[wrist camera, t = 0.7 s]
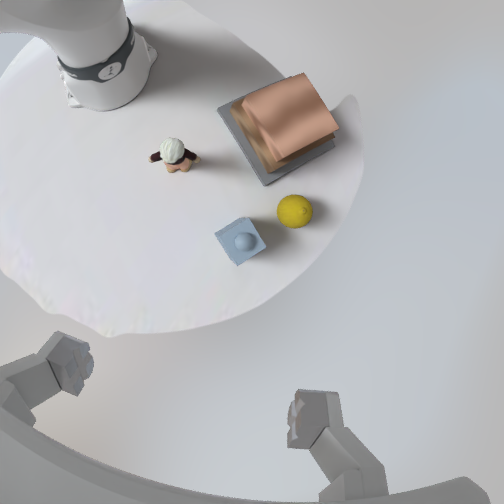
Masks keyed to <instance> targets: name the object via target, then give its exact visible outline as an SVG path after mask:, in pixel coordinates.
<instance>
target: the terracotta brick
mask: <svg viewBox="0 0 504 504" xmlns="http://www.w3.org/2000/svg"><path fill="white" fill-rule="evenodd" d="M229 112H230V113H231V115H232V116H233V118H234V119H235V121H236V123H237V124H238V126H239V127H240V129H241V130H242V132H243V134H244V135H245V137H246V138H247V140H248V142H249V143H250V145H251V147H252V148H253V150H254V151H255V153H256V155H257V156H258V158H259V160H260V161H261V163H262V165H263V166H264V168H265V170H266V171H267V173H268V174H269V173H271V172H272V171H274V170H276V169H278V168H280V167H281V166H283V165H285V164H287V163H289V162H290V161H292V160H294V159H296V158H298V157H299V156H301V155H303V154H305V153H307V152H309V151H310V150H312V149H314V148H316V147H318V146H320V145H322V144H324V143H326V142H327V141H329V140H331V139H333V138H335V136H334V134H333V132H334V131H336V130H338V129H339V127H338V125H337V124H336V122H335V120H334V119H333V117H332V115H331V114H330V112H329V110H328V109H327V107H326V105H325V104H324V102H323V101H322V99H321V98H320V96H319V94H318V93H317V91H316V90H315V88H314V87H313V85H312V84H311V82H310V81H309V79H308V78H307V76H306V75H305V74H304V73H301V74H299V75H296V76H293V77H290V78H288V79H285V80H282V81H280V82H277V83H275V84H272V85H270V86H268V87H265V88H263V89H260V90H258V91H256V92H253V93H251V94H249V95H247V96H246V97H245V98H242V99H240V100H238V101H236V102H234V103H233V104H232V106H231V109H230V111H229Z"/></svg>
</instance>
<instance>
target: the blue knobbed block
mask: <svg viewBox="0 0 504 504" xmlns="http://www.w3.org/2000/svg"><path fill="white" fill-rule="evenodd" d="M215 236H216V237H217V239H218V240H219V242H220V244H221V245H222V247H223V248H224V250H225V252H226V253H227V255H228V256H229V258H230V259H231V260H232V261H233V262H234V263H235V264H236V265H237V266H238V265H240V264H241V263H243V262H245V261H246V260H248V259H249V258H251V257H252V256H254V255H255V254H257V253H258V252H260V251H262V250H263V249H265V248H266V245H265V244H264V242H263V240H262V239H261V237H260V235H259V234H258V232H257V230H256V229H255V227H254V225H253V224H252V222H251V220H250V219H249V218H239V219H237V220H235V221H234V222H232V223H231V224H229V225H227V226H226V227H224V228H223V229H221V230H219V231H218V232H216V233H215Z"/></svg>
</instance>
